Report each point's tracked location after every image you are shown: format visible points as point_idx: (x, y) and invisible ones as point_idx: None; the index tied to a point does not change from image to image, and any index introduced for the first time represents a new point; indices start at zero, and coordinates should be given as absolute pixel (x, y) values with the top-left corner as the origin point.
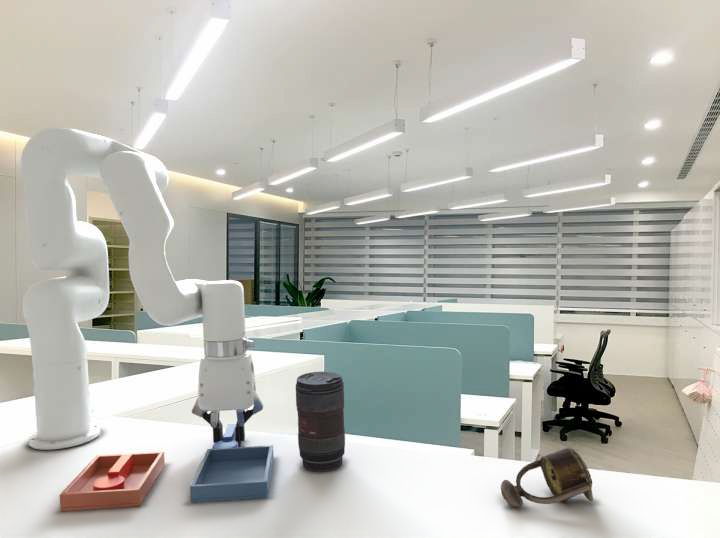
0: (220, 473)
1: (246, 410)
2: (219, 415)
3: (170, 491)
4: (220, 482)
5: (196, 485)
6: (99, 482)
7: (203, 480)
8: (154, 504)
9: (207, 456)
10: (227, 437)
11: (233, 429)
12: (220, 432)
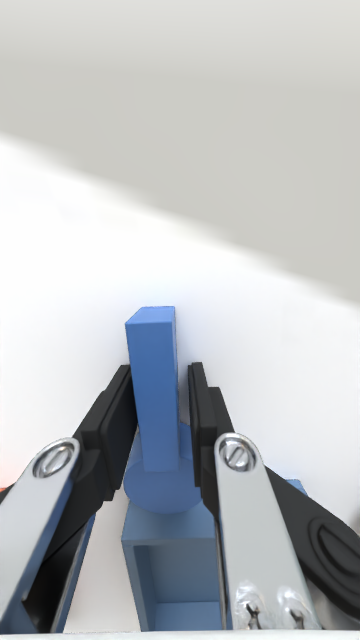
0: (180, 546)
1: (309, 567)
2: (58, 499)
3: (100, 568)
4: (188, 571)
5: None
6: None
7: (152, 564)
8: (92, 593)
9: (137, 573)
10: (164, 470)
11: (172, 400)
12: (124, 459)
